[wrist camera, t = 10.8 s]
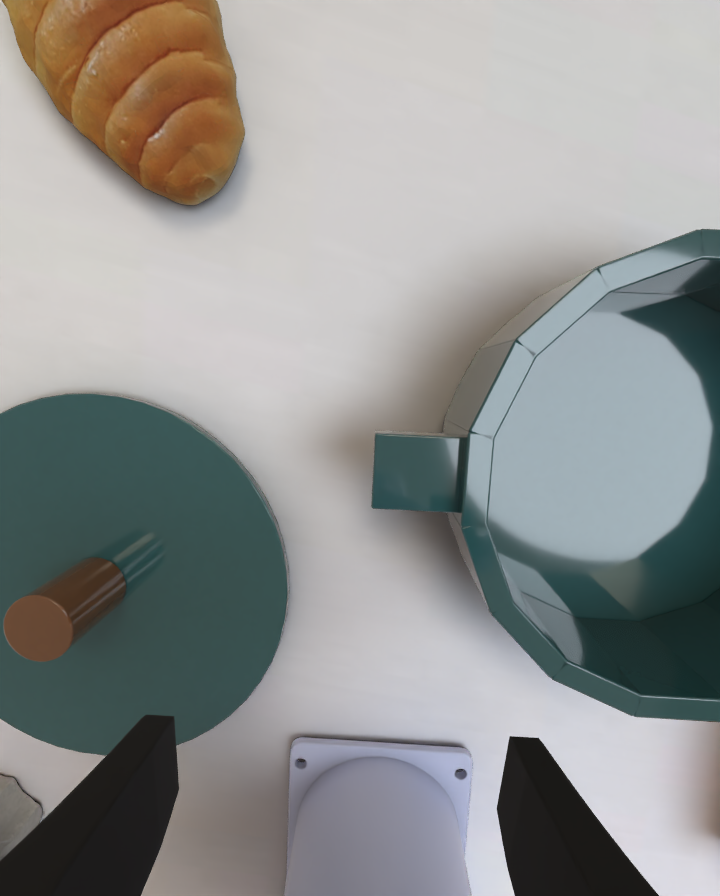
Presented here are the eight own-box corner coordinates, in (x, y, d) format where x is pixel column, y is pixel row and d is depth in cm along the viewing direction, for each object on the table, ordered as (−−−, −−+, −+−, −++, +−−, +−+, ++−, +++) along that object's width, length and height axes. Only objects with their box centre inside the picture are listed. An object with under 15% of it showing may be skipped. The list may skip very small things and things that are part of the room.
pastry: (298, 152, 18) (277, 93, 14) (152, 249, 19) (96, 216, 15) (161, -89, 17) (100, -221, 13) (13, 22, 18) (-85, -74, 14)
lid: (287, 748, 22) (263, 848, 17) (-51, 726, 22) (-164, 818, 17) (296, 401, 20) (272, 408, 15) (-79, 383, 20) (-216, 384, 15)
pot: (839, 644, 20) (1009, 740, 15) (365, 617, 21) (361, 701, 15) (911, 285, 18) (1139, 244, 13) (382, 263, 19) (386, 216, 13)
